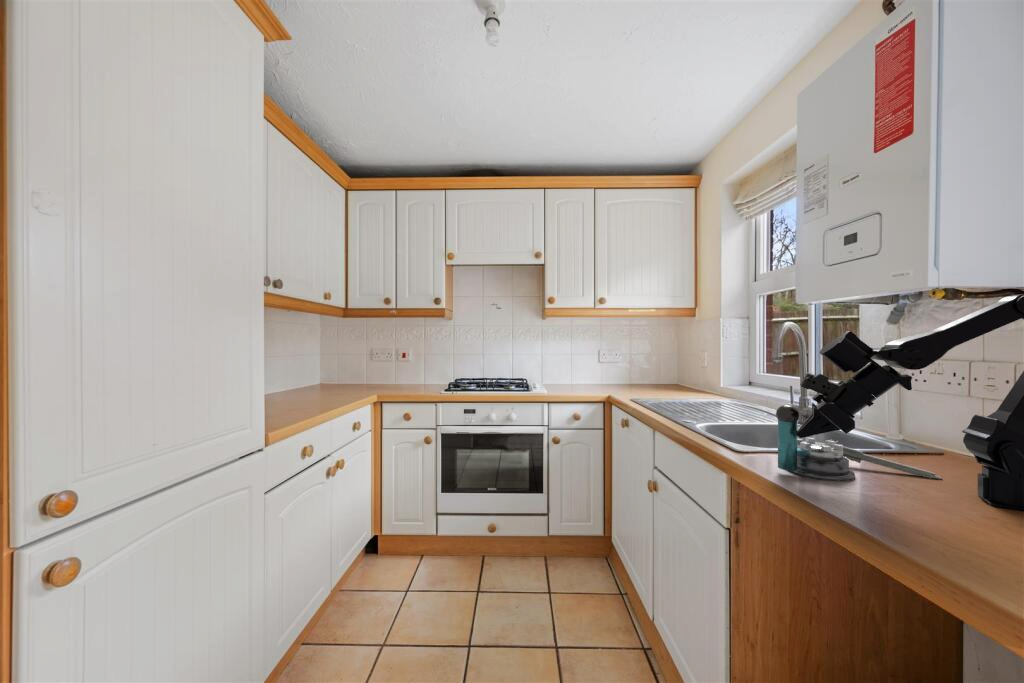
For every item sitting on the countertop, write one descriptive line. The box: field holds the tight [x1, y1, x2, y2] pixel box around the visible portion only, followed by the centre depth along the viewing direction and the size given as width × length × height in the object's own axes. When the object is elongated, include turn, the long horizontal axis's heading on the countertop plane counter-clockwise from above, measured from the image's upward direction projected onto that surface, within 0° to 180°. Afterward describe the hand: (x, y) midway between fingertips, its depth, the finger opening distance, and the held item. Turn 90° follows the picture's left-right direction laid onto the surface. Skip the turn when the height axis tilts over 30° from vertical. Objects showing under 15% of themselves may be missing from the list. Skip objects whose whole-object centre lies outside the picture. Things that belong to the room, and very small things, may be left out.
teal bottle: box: [775, 404, 844, 472], centre depth 92 cm, size 9×16×14 cm, turn 106°
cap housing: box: [789, 455, 856, 482], centre depth 93 cm, size 13×13×4 cm
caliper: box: [830, 438, 943, 480], centre depth 94 cm, size 20×1×6 cm, turn 54°
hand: (797, 435), depth 89 cm, fingers closed
